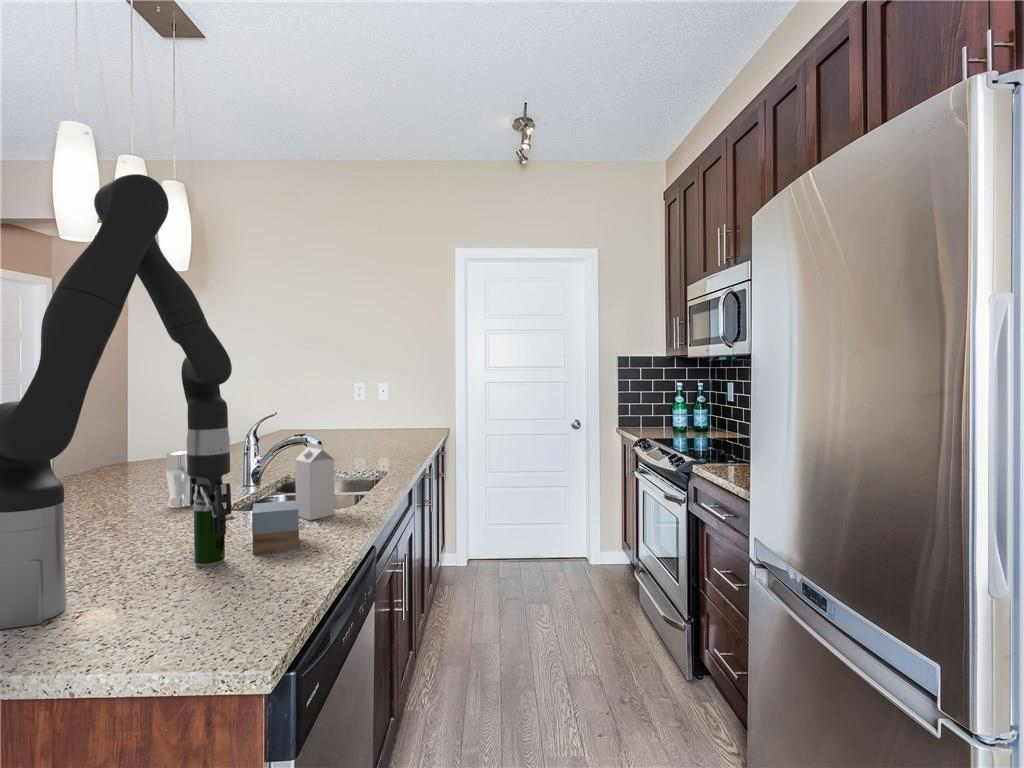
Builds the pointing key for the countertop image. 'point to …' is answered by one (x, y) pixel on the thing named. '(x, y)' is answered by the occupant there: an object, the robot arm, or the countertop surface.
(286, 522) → the slate-blue block
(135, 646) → the countertop surface
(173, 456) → the beer glass
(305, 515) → the milk carton
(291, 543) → the walnut block
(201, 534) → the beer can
